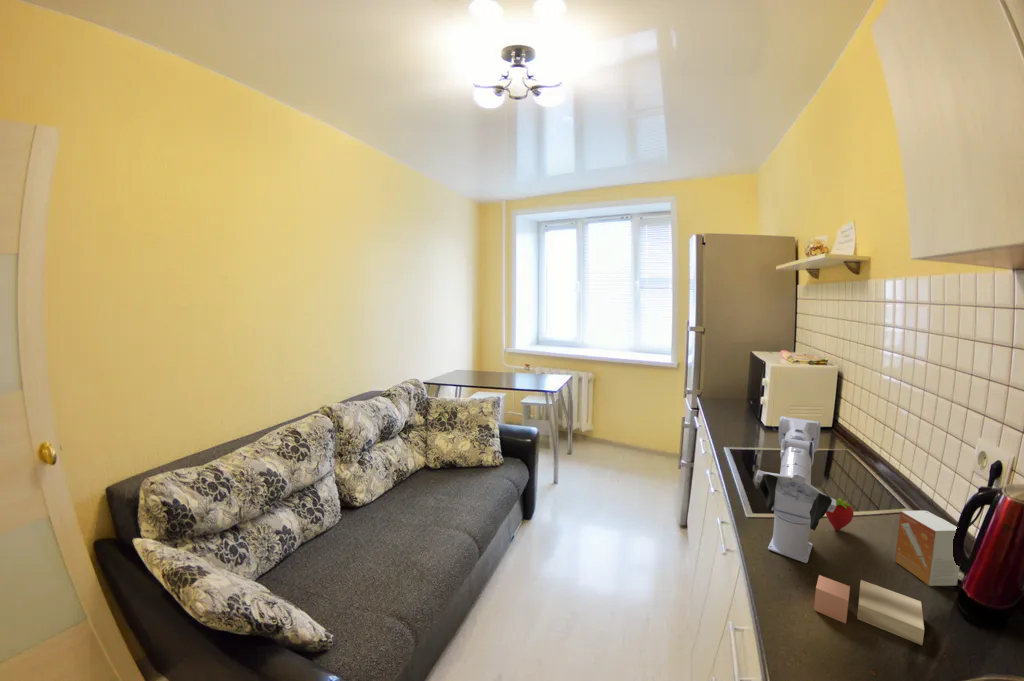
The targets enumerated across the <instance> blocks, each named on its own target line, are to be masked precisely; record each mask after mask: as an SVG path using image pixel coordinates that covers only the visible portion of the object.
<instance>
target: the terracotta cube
mask: <svg viewBox="0 0 1024 681" xmlns="http://www.w3.org/2000/svg"><path fill="white" fill-rule="evenodd" d="M850 591H851V586H850V585H847V584H844V583H841V582H840V581H836V580H833V579H832V578H828V577H826V576H823V575H821V574H818V578H817V583H816V586H815V595H814V607H813V611H815V612H818V613H819V614H822V615H825V616H827V617H829V618H832V619H834V620H836V621H839V622H841V623H843V624H847V620H848V618H847V617H848V612H849V611H848V610H849V601H850Z"/></svg>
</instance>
